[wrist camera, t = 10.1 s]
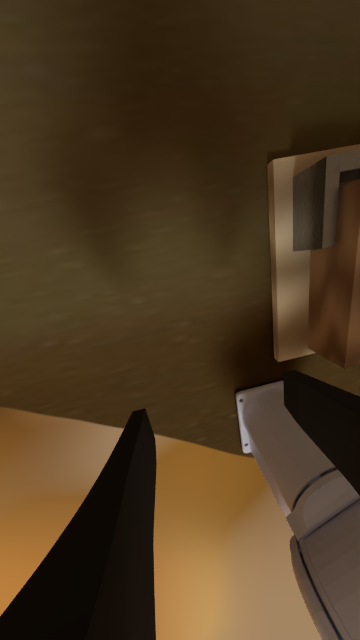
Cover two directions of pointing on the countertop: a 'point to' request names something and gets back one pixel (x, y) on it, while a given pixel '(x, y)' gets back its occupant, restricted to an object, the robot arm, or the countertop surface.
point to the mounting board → (290, 256)
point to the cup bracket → (320, 199)
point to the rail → (338, 286)
